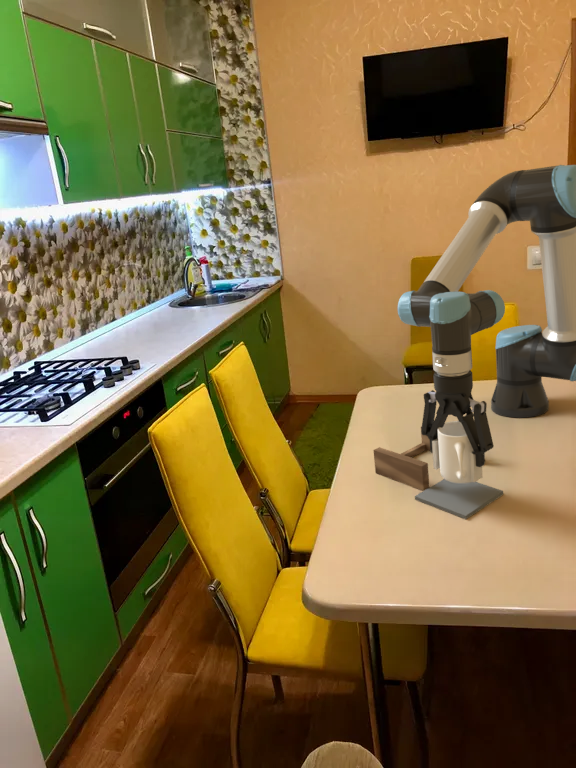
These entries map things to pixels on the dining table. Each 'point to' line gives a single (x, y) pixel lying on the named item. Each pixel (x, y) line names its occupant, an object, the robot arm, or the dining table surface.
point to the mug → (454, 453)
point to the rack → (404, 465)
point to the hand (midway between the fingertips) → (457, 473)
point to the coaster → (459, 497)
